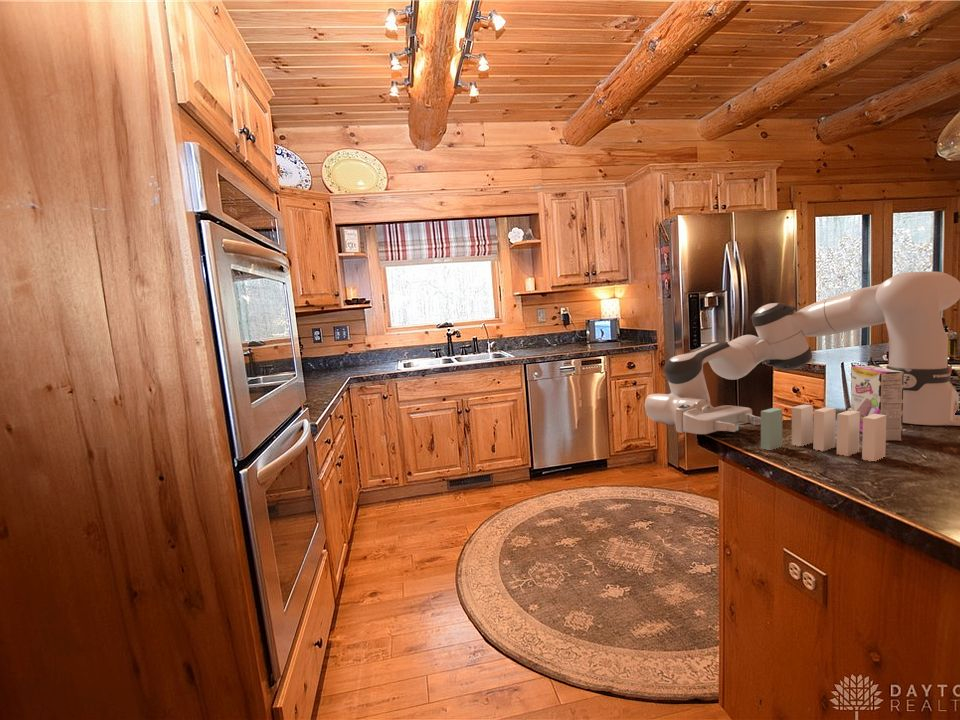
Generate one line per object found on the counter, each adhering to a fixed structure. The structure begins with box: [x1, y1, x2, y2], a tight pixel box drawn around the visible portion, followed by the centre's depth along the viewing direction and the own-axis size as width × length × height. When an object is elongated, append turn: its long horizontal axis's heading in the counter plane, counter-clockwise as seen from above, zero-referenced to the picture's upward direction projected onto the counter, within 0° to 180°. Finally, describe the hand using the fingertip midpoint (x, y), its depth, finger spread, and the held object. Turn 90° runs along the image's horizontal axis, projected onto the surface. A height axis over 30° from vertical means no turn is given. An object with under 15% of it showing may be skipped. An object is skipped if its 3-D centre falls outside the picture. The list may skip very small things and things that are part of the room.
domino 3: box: [812, 406, 837, 452], centre depth 100 cm, size 5×2×9 cm, turn 118°
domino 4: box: [836, 409, 860, 457], centre depth 96 cm, size 5×2×9 cm, turn 118°
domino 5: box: [861, 414, 887, 462], centre depth 92 cm, size 5×2×9 cm, turn 118°
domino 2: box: [791, 404, 814, 447], centre depth 104 cm, size 5×2×9 cm, turn 118°
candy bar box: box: [850, 365, 904, 442], centre depth 106 cm, size 11×5×16 cm, turn 168°
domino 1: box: [760, 407, 783, 451], centre depth 102 cm, size 5×2×9 cm, turn 118°
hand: (748, 424), depth 107 cm, fingers open, 8 cm apart
